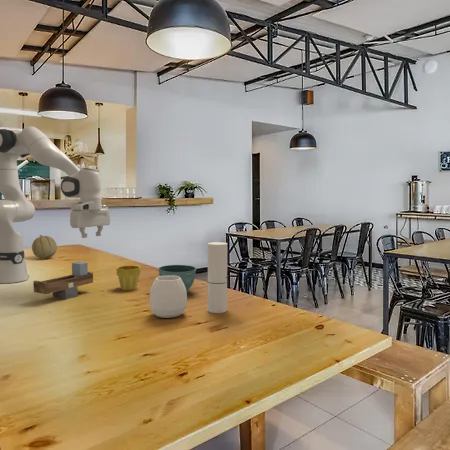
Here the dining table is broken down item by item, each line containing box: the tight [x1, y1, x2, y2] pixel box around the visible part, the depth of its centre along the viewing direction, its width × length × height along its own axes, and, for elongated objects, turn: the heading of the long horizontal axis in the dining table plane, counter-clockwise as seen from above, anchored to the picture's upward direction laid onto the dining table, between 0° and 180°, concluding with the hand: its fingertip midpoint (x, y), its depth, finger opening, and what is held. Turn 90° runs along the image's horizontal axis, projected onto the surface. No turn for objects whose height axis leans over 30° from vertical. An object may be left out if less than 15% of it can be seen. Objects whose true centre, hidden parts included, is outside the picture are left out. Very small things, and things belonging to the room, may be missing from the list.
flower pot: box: [158, 264, 197, 294], centre depth 182 cm, size 16×16×11 cm
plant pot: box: [116, 264, 141, 291], centre depth 188 cm, size 10×10×10 cm
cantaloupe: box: [31, 234, 58, 260], centre depth 266 cm, size 15×15×15 cm
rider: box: [71, 261, 89, 278], centre depth 180 cm, size 5×4×7 cm
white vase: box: [149, 275, 188, 319], centre depth 149 cm, size 13×13×14 cm
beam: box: [32, 271, 94, 300], centre depth 174 cm, size 8×24×8 cm, turn 151°
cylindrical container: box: [207, 241, 228, 314], centre depth 155 cm, size 7×7×25 cm
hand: (91, 236), depth 185 cm, fingers open, 7 cm apart
